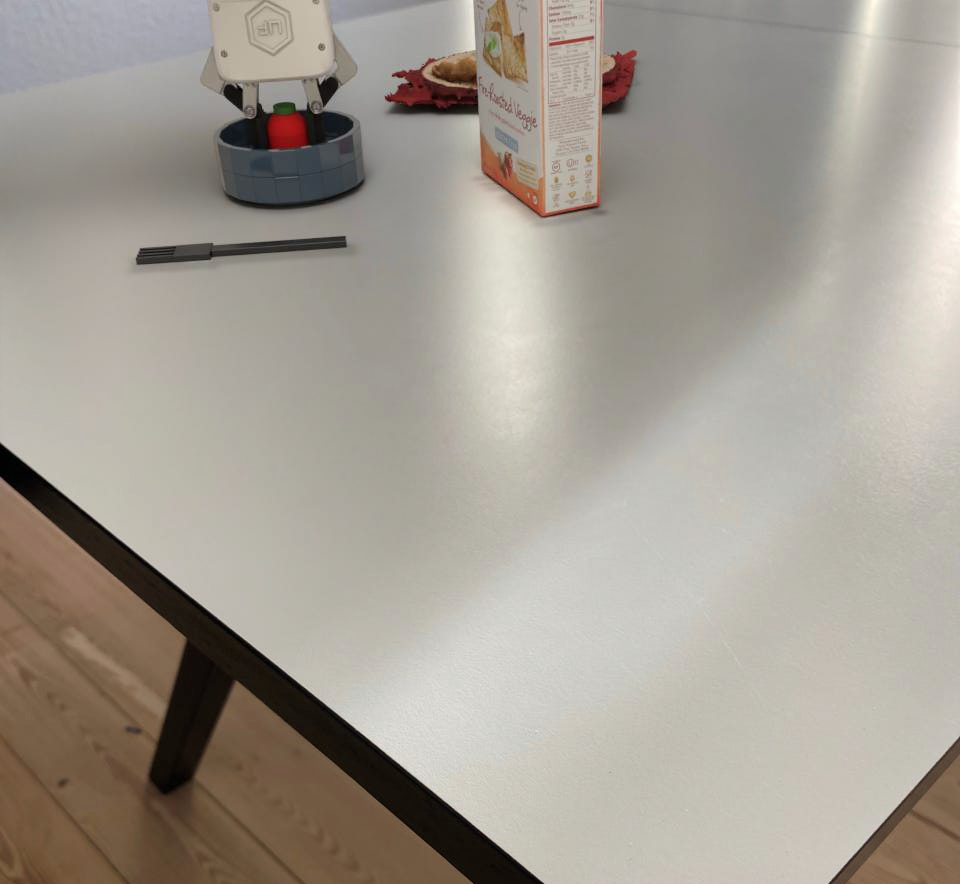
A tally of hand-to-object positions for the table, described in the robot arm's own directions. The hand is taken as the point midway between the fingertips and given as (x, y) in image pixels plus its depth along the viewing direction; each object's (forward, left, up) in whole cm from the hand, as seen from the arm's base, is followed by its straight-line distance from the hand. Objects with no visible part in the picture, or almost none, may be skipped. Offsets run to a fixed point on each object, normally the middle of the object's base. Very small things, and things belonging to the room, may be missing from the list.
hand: (291, 156), depth 103 cm
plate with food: (+24, +30, -3) cm, 38 cm away
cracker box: (+22, -6, -3) cm, 23 cm away
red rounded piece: (0, 0, 0) cm, 0 cm away
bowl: (0, 0, -3) cm, 3 cm away
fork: (-3, -16, -3) cm, 17 cm away
